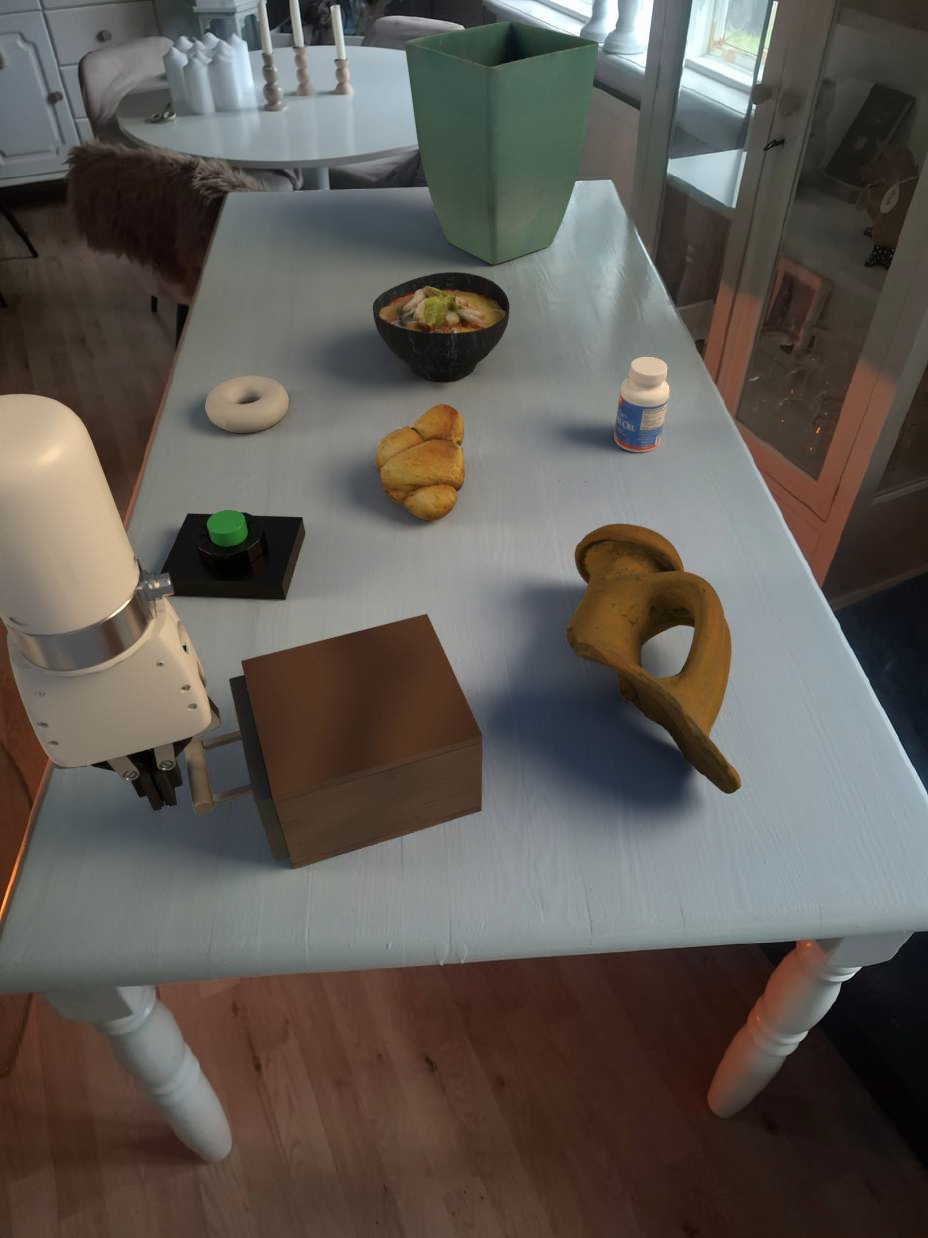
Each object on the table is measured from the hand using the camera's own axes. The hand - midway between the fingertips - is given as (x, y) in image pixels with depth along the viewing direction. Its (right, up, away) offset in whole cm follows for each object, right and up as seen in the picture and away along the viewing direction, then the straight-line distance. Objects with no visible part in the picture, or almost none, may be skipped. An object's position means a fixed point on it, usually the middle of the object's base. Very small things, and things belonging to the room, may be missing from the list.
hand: (163, 791), depth 62 cm
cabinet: (+14, 0, +7) cm, 15 cm away
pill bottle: (+42, +33, +39) cm, 66 cm away
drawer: (+10, 0, +5) cm, 12 cm away
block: (-1, +18, +25) cm, 31 cm away
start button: (-1, +20, +22) cm, 30 cm away
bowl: (+19, +46, +52) cm, 71 cm away
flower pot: (+27, +73, +79) cm, 111 cm away
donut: (-5, +37, +44) cm, 58 cm away
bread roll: (+17, +26, +33) cm, 45 cm away
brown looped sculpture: (+37, +6, +13) cm, 40 cm away
